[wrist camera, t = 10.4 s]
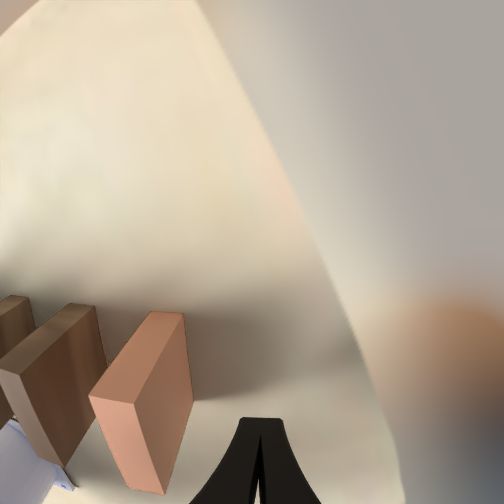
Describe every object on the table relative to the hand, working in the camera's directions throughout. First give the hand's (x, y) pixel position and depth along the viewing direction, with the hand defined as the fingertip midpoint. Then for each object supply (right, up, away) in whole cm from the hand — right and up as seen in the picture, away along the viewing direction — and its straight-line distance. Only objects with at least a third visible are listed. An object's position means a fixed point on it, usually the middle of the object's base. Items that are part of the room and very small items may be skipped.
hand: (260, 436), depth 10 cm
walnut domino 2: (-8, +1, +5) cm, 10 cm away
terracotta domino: (-4, +1, +4) cm, 6 cm away
